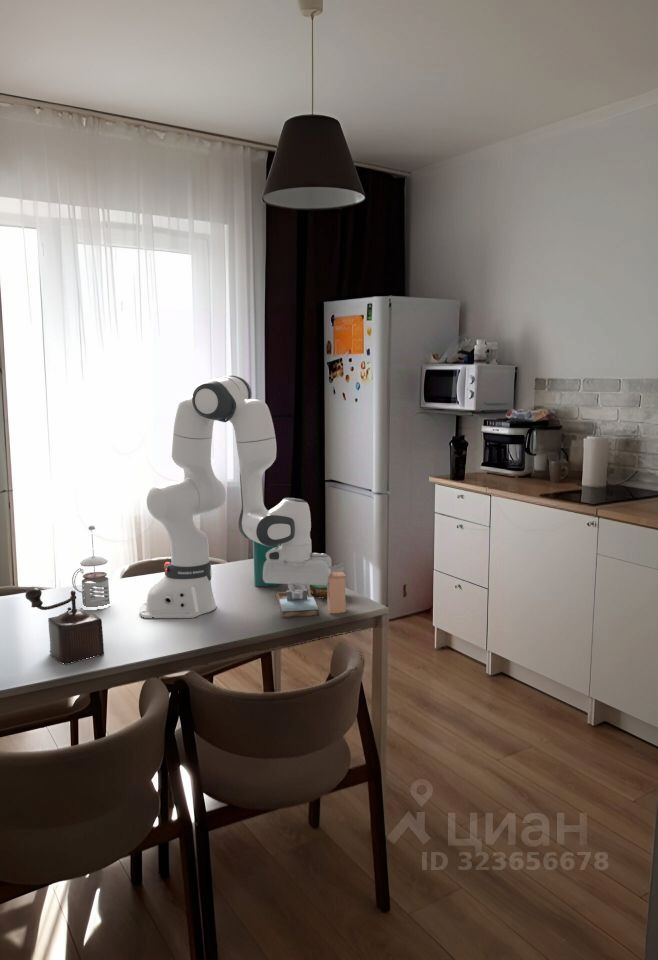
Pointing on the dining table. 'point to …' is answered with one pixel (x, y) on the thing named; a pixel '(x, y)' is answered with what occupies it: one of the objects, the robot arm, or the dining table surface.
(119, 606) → the dining table surface
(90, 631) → the manual coffee grinder
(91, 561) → the french press
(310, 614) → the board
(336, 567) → the food container
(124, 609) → the dining table surface
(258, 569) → the green bottle
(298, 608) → the cover
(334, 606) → the canister
